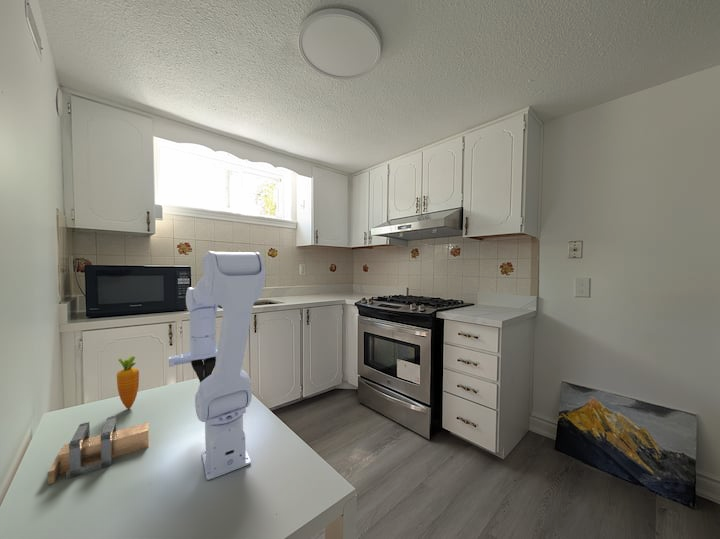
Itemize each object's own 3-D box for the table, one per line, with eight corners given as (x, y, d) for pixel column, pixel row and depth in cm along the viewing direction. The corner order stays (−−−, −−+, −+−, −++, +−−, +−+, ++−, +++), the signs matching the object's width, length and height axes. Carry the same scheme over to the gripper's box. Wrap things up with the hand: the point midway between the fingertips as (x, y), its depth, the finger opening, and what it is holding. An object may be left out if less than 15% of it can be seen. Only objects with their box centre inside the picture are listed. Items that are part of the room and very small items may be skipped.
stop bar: (54, 482, 53) (53, 470, 53) (48, 484, 53) (47, 472, 53) (67, 457, 60) (66, 446, 60) (61, 459, 60) (61, 448, 60)
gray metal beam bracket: (111, 465, 58) (110, 433, 58) (66, 479, 54) (65, 445, 54) (117, 443, 65) (116, 415, 65) (77, 454, 61) (76, 425, 61)
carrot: (112, 411, 79) (111, 358, 78) (131, 403, 84) (130, 352, 83) (125, 414, 77) (124, 359, 77) (144, 405, 82) (142, 354, 82)
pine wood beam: (148, 448, 64) (148, 430, 64) (59, 475, 55) (58, 455, 55) (149, 439, 67) (148, 422, 67) (64, 463, 59) (64, 444, 59)
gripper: (231, 328, 79) (232, 376, 79) (168, 336, 70) (169, 390, 71) (236, 333, 73) (237, 385, 73) (168, 342, 65) (169, 401, 65)
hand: (204, 388), depth 72 cm, fingers closed
